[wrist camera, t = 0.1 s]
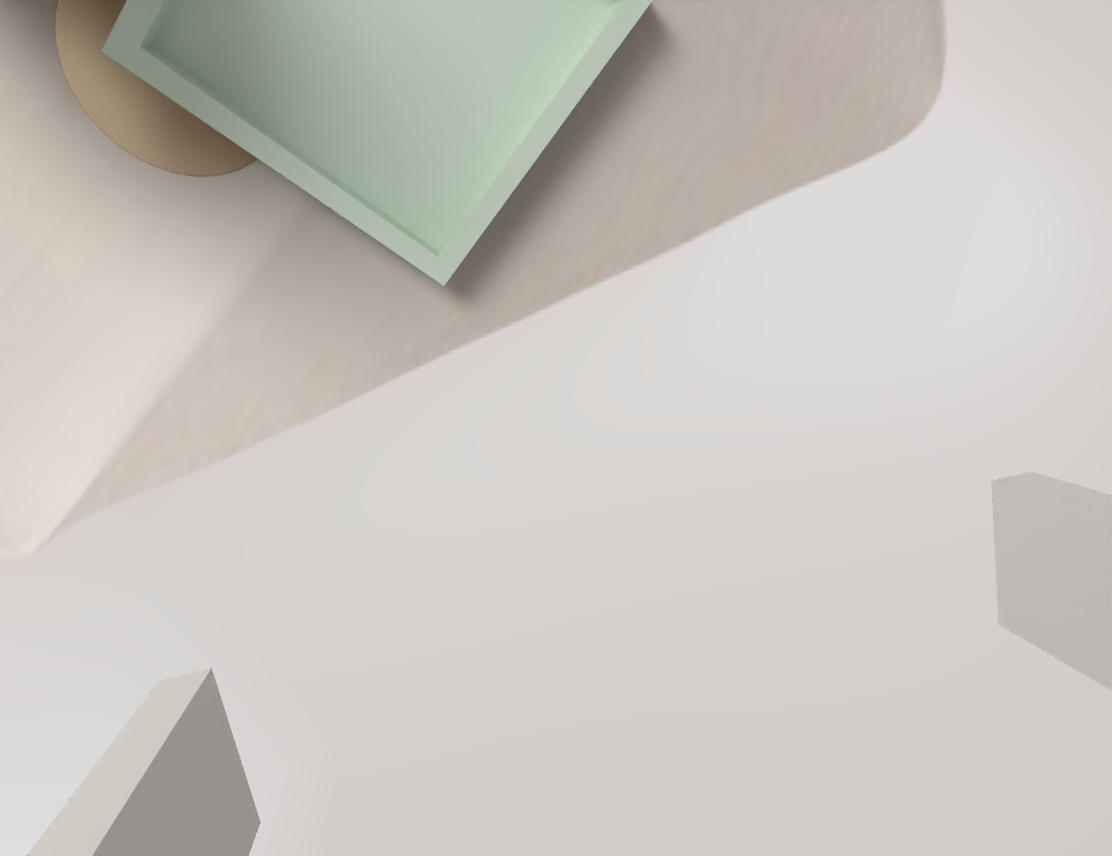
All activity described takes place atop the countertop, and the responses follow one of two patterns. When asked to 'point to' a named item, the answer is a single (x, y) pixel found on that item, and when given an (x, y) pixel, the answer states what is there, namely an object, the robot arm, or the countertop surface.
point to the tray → (382, 97)
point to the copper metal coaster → (135, 99)
